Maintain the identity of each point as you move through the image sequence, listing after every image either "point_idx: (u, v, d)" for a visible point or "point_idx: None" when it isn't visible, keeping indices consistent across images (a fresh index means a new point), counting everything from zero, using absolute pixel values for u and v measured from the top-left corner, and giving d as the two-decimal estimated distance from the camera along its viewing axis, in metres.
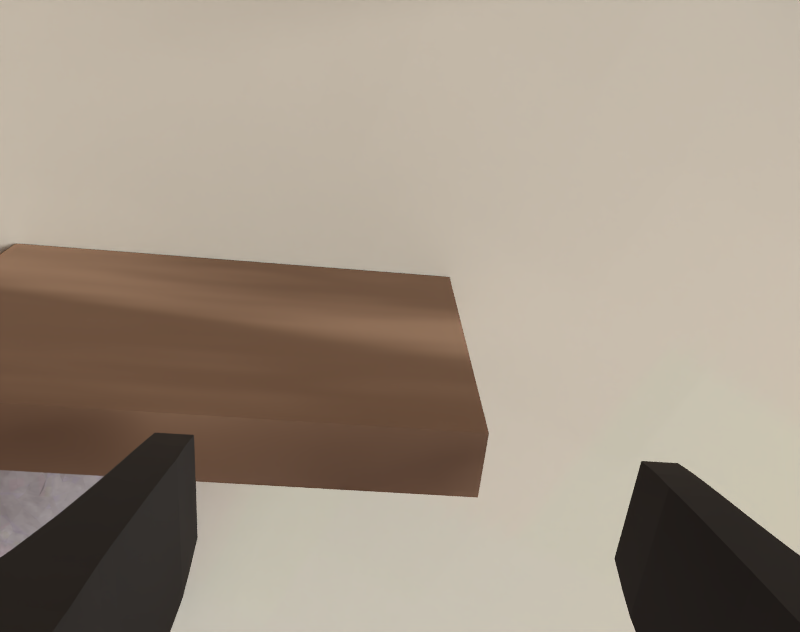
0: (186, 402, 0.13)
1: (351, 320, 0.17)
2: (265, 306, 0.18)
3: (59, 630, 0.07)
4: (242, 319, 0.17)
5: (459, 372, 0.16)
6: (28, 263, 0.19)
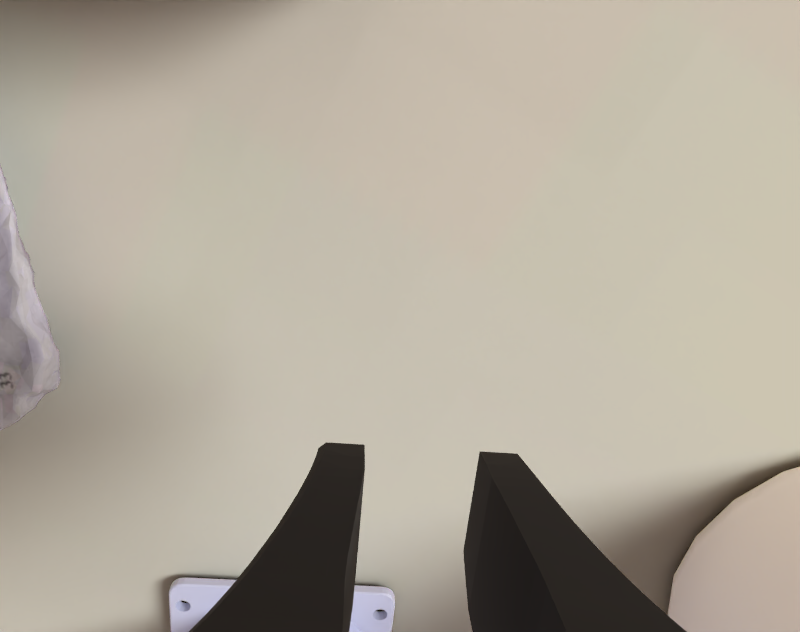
0: None
1: None
2: None
3: None
4: None
5: None
6: None
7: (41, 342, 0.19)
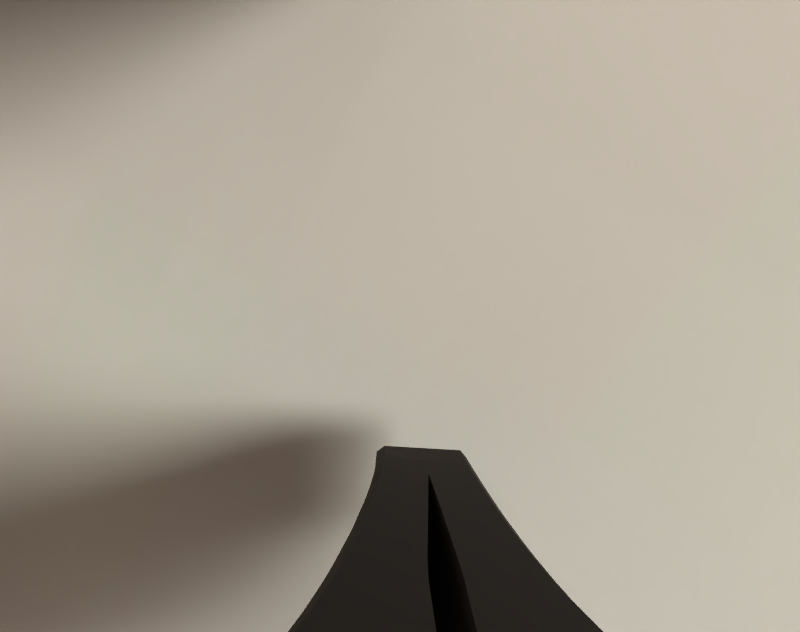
0: None
1: None
2: None
3: None
4: None
5: None
6: None
7: None
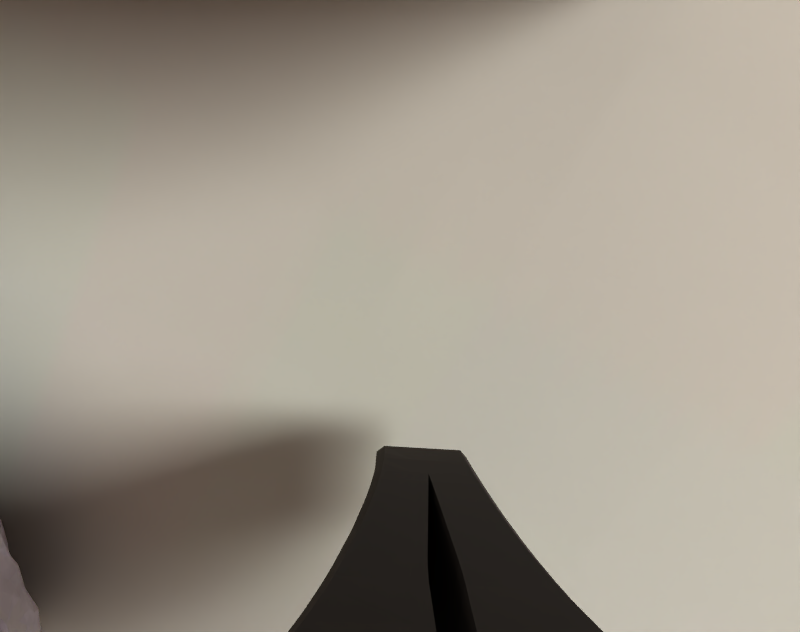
0: None
1: None
2: None
3: None
4: None
5: None
6: None
7: (7, 619, 0.11)
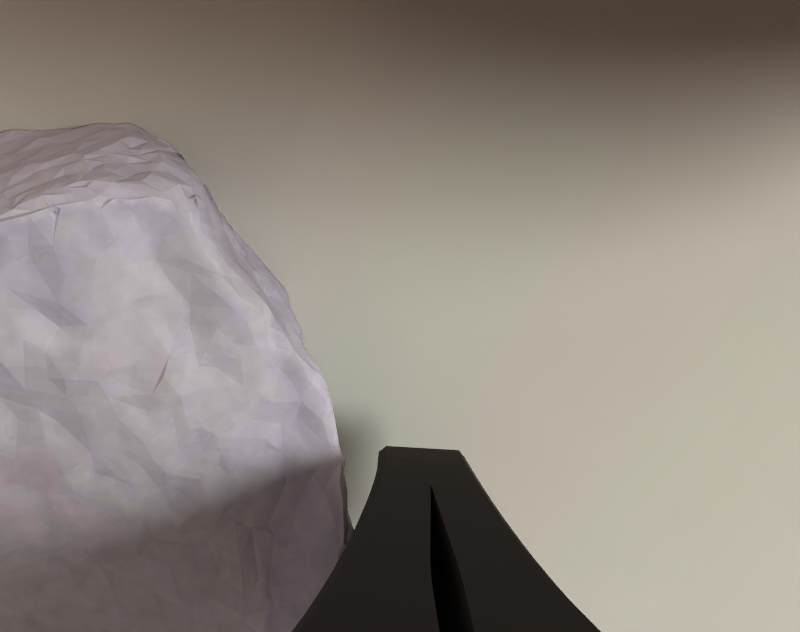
0: None
1: None
2: None
3: None
4: None
5: None
6: None
7: None
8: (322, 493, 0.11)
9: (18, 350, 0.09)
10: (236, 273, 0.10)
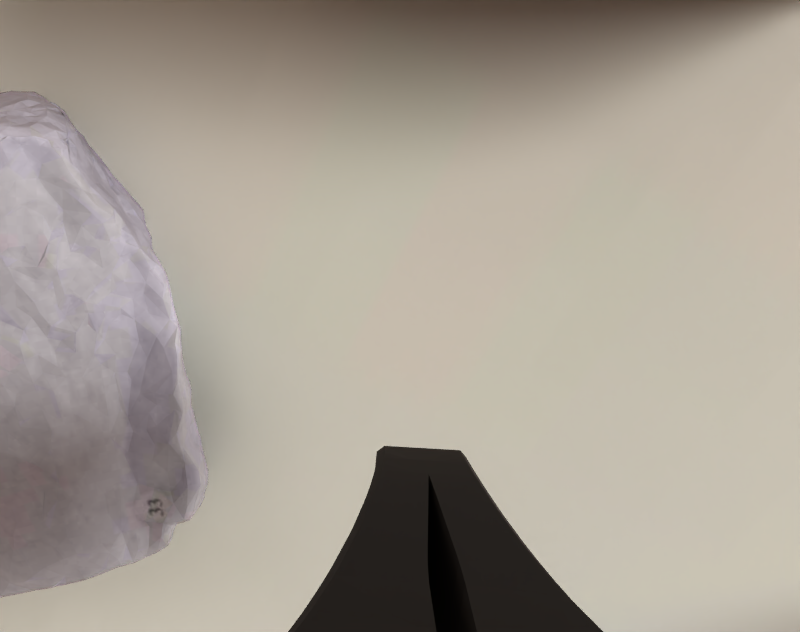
0: None
1: None
2: None
3: None
4: None
5: None
6: None
7: (199, 468, 0.17)
8: (162, 349, 0.16)
9: None
10: (96, 191, 0.15)
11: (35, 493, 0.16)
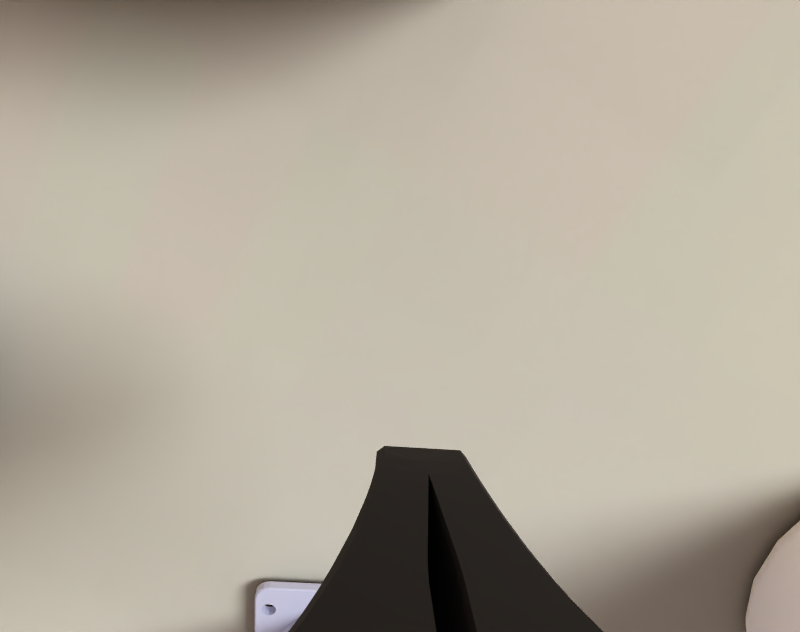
0: None
1: None
2: None
3: None
4: None
5: None
6: None
7: None
8: None
9: None
10: None
11: None
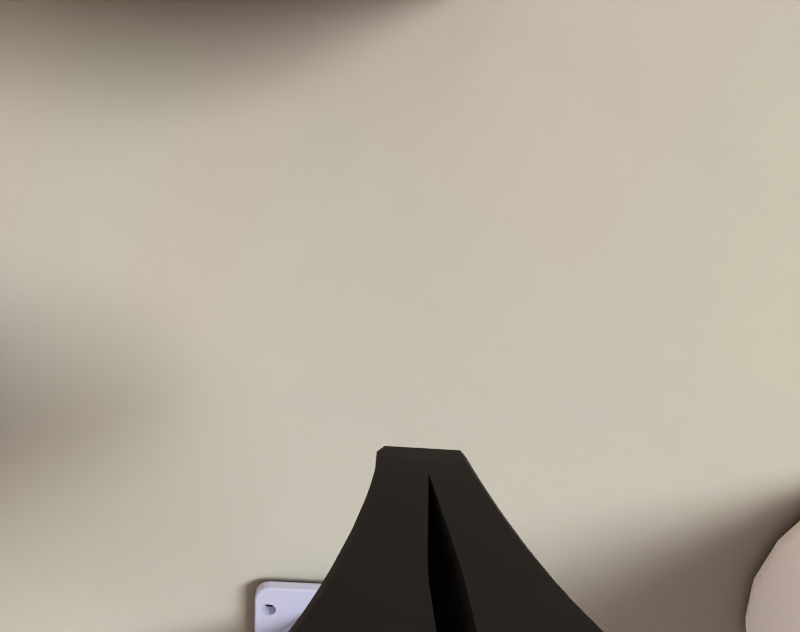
0: None
1: None
2: None
3: None
4: None
5: None
6: None
7: None
8: None
9: None
10: None
11: None
